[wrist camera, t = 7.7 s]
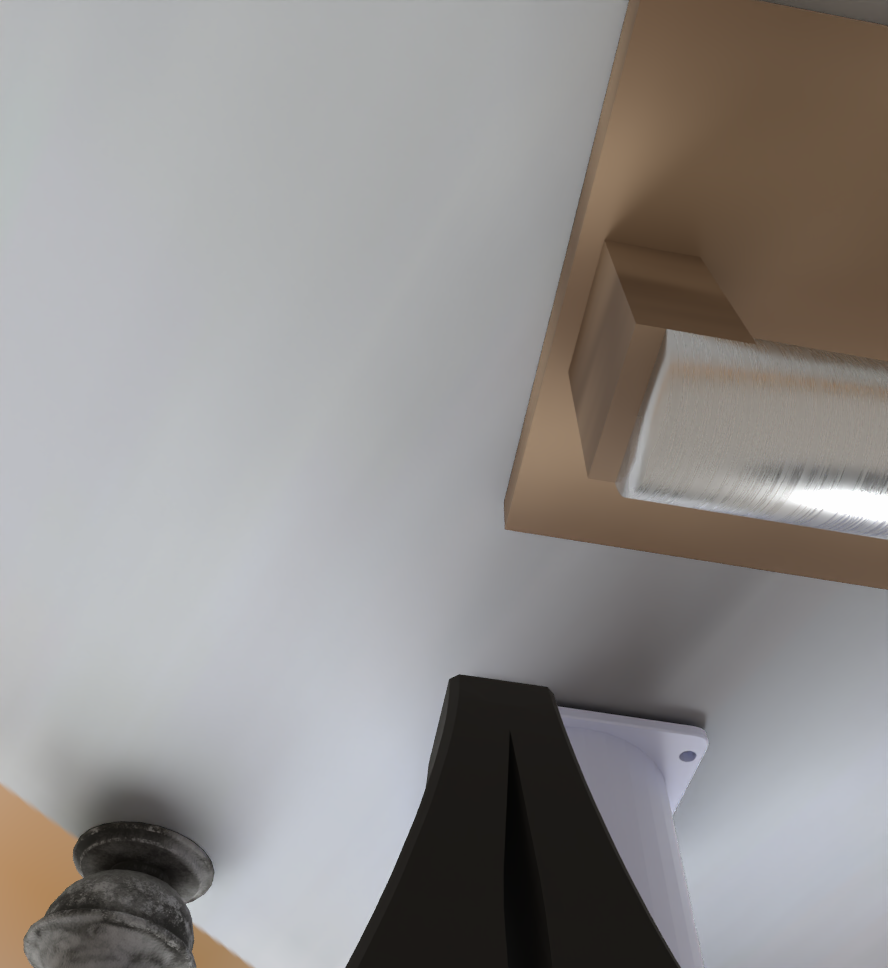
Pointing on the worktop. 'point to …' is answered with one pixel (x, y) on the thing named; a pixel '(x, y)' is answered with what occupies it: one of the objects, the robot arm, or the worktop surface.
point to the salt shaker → (124, 902)
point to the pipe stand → (724, 302)
